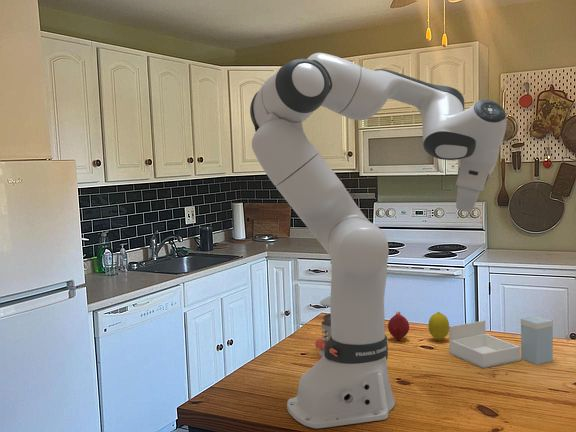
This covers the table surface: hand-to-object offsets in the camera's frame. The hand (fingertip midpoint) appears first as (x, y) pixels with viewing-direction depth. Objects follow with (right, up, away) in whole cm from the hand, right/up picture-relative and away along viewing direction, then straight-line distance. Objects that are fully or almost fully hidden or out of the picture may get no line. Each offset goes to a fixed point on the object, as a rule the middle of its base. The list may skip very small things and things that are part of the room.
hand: (468, 193), depth 152 cm
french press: (-33, -42, +3) cm, 54 cm away
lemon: (-5, -40, +10) cm, 42 cm away
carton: (+14, -41, -8) cm, 44 cm away
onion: (-16, -40, +12) cm, 45 cm away
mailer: (+3, -41, -5) cm, 41 cm away
